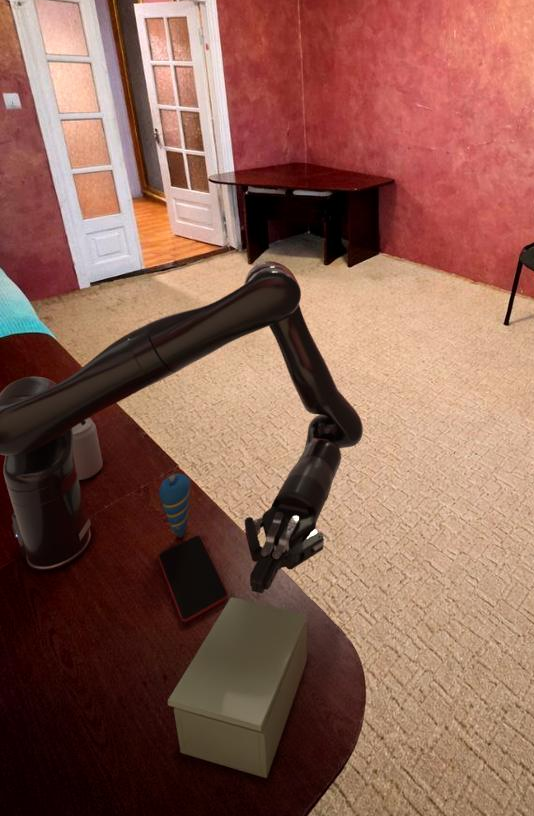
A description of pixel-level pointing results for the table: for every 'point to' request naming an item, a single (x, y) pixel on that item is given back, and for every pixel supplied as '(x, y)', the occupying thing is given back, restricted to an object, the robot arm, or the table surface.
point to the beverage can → (86, 449)
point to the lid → (240, 664)
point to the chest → (240, 742)
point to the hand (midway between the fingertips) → (256, 588)
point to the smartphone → (192, 578)
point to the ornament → (176, 501)
